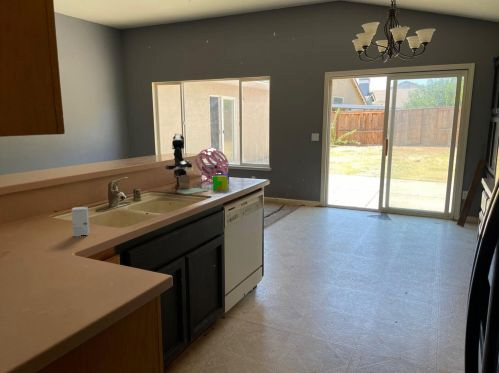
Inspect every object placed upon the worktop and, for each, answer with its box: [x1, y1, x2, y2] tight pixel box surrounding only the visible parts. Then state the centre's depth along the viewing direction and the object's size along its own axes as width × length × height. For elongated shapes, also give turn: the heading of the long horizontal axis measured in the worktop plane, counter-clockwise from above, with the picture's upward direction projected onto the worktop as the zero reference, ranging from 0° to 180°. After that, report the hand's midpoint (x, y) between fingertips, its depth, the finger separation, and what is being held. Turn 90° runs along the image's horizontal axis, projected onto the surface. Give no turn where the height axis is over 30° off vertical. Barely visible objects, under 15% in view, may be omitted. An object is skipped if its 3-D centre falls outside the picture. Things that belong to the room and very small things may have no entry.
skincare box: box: [71, 206, 91, 237], centre depth 157 cm, size 6×4×12 cm
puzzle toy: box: [212, 173, 230, 191], centre depth 259 cm, size 10×10×10 cm
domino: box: [178, 174, 191, 190], centre depth 258 cm, size 3×7×10 cm, turn 128°
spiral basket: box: [194, 148, 230, 184], centre depth 288 cm, size 28×28×27 cm
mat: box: [175, 187, 209, 196], centre depth 252 cm, size 14×18×1 cm
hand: (179, 178), depth 263 cm, fingers closed
